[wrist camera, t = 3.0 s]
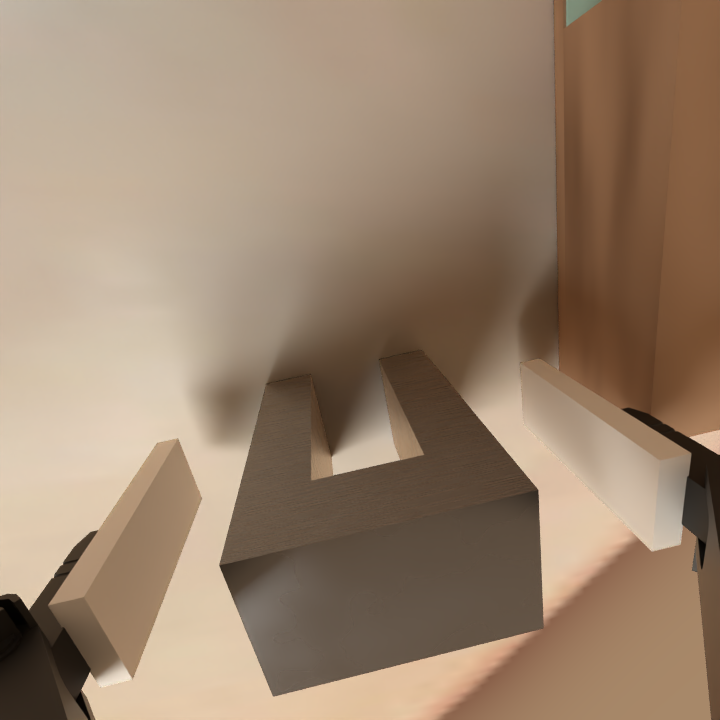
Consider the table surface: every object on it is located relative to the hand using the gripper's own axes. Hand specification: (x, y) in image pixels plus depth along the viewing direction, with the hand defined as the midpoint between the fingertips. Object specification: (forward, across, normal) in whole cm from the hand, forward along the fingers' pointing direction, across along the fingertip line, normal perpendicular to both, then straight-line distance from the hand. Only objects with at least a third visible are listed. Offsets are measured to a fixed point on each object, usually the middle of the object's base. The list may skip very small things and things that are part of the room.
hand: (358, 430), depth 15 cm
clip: (+2, 0, 0) cm, 2 cm away
